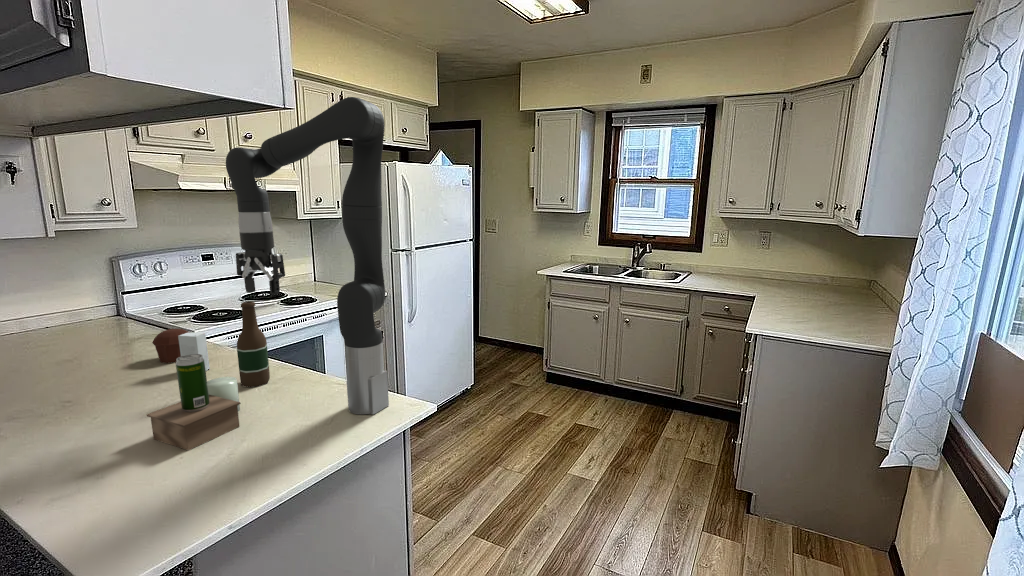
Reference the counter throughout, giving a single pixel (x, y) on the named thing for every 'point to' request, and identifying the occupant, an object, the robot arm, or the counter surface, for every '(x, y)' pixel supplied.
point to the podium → (194, 423)
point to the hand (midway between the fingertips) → (262, 293)
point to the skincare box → (194, 346)
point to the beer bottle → (252, 350)
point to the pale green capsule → (224, 388)
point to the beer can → (192, 382)
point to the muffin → (168, 345)
